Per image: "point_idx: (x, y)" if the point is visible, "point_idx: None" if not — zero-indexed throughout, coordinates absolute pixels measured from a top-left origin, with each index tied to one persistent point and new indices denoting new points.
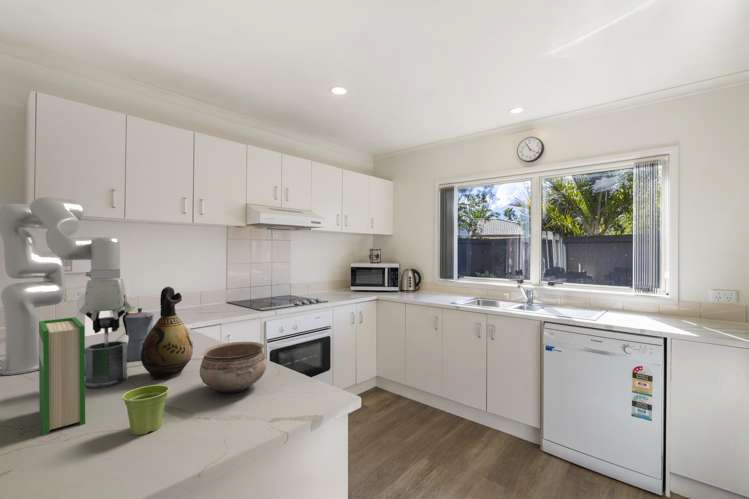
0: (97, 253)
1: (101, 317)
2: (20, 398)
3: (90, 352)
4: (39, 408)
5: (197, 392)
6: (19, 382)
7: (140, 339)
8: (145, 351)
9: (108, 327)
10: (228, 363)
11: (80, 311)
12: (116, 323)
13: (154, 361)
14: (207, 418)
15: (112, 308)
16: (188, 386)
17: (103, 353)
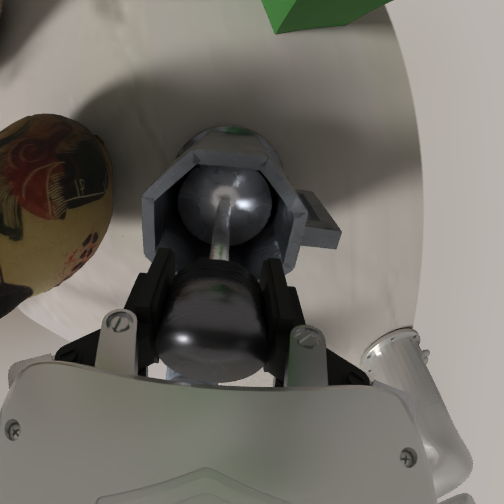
0: None
1: None
2: (403, 161)
3: (277, 168)
4: (348, 23)
5: (23, 26)
6: (404, 282)
7: (179, 379)
8: (64, 145)
9: (190, 265)
10: None
11: (407, 399)
12: (138, 292)
13: (57, 115)
14: None
15: (89, 381)
16: (31, 64)
17: (219, 147)
